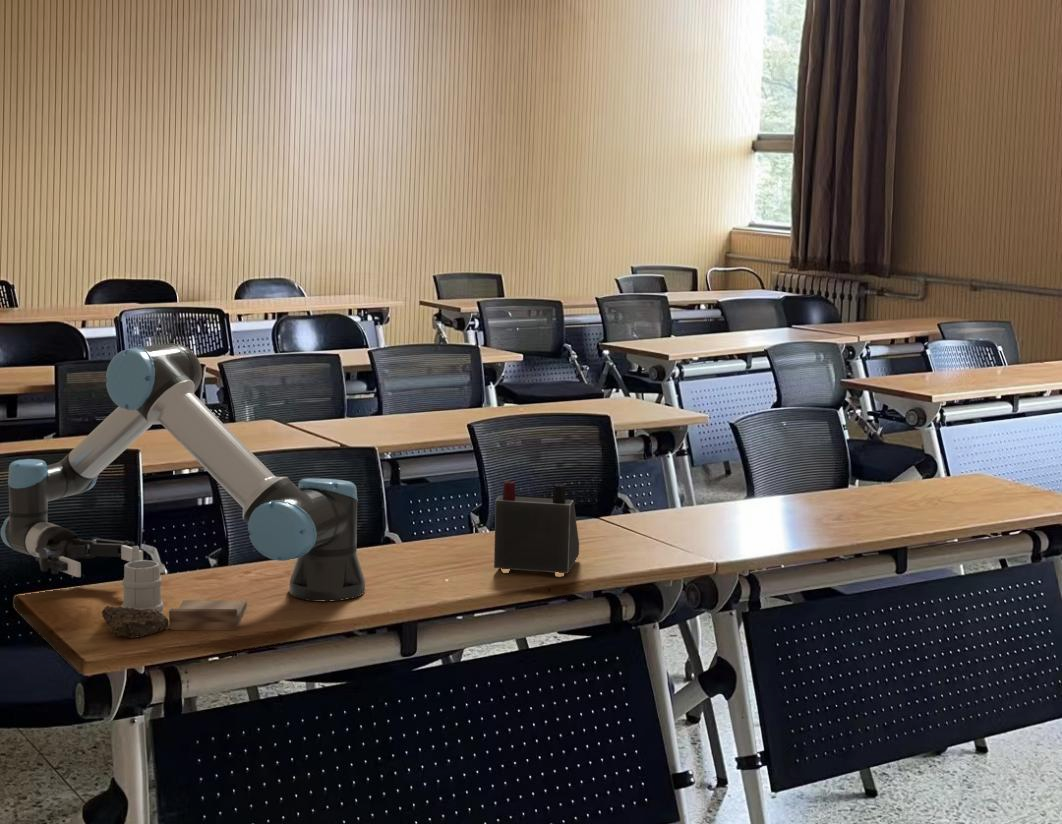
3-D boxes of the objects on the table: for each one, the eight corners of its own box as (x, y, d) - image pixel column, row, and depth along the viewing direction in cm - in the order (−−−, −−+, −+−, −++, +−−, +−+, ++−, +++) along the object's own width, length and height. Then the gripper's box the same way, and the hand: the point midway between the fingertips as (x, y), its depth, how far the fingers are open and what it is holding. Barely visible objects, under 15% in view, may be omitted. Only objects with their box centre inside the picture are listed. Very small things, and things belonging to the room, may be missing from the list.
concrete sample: (108, 644, 242) (107, 616, 242) (99, 628, 251) (98, 601, 251) (174, 637, 247) (173, 609, 247) (163, 621, 256) (162, 595, 256)
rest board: (246, 608, 266) (246, 590, 265) (235, 630, 252) (235, 611, 251) (183, 607, 265) (183, 590, 264) (169, 629, 251) (169, 611, 250)
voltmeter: (578, 561, 309) (581, 473, 306) (567, 579, 293) (570, 487, 290) (508, 556, 311) (510, 469, 309) (493, 574, 295) (495, 482, 293)
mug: (126, 623, 254) (124, 559, 253) (114, 606, 265) (112, 545, 263) (167, 618, 258) (166, 556, 256) (154, 602, 268) (153, 542, 267)
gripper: (107, 551, 290) (166, 571, 276) (-5, 572, 272) (51, 594, 258) (107, 517, 289) (165, 535, 275) (-6, 535, 271) (51, 555, 257)
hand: (110, 563), depth 267 cm, fingers open, 13 cm apart
